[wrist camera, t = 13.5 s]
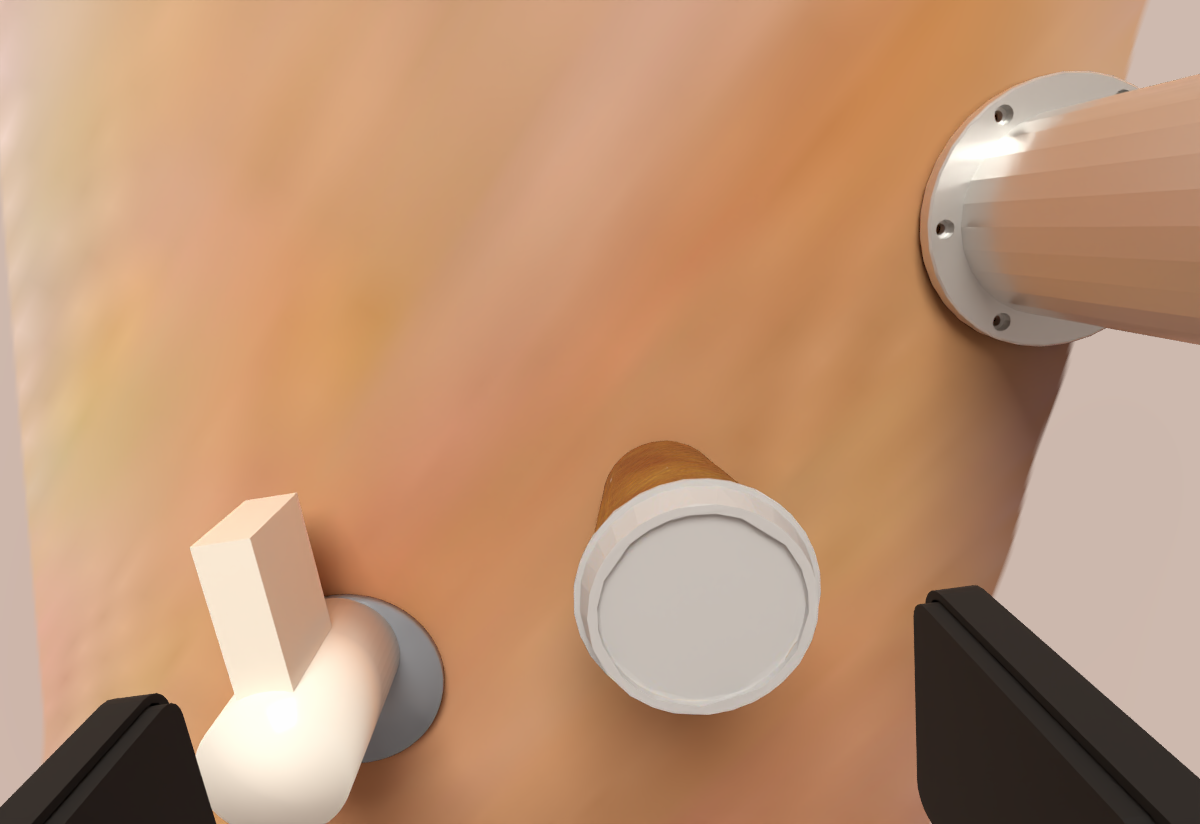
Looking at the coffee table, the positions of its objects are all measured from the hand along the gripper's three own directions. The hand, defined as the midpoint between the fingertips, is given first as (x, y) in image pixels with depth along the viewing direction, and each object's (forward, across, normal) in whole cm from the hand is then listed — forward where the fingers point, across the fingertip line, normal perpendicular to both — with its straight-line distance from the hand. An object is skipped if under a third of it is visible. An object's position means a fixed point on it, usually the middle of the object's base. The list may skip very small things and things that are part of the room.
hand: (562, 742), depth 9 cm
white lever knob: (+27, +14, +11) cm, 33 cm away
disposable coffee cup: (+28, -4, +8) cm, 30 cm away
